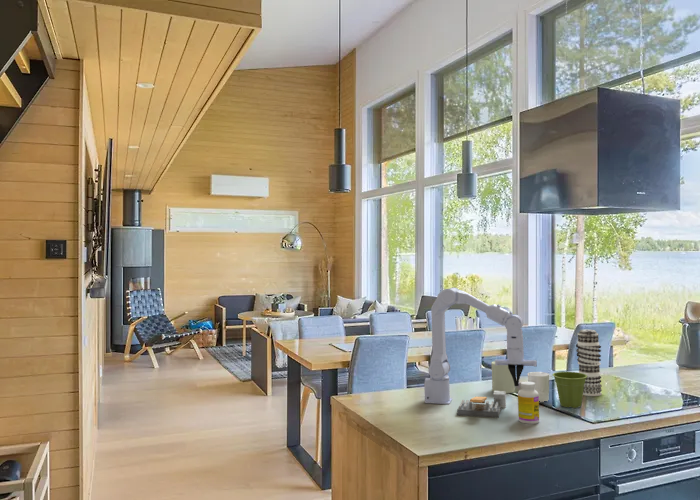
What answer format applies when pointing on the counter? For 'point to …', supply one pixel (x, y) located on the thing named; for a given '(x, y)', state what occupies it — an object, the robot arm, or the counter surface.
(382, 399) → the counter surface
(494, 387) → the can
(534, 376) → the white cup
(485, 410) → the heatsink block
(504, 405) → the block
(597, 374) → the decorative candle
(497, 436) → the counter surface
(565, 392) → the plant pot
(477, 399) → the orange rectangular bar
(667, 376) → the counter surface
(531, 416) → the supplement bottle
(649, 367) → the counter surface
